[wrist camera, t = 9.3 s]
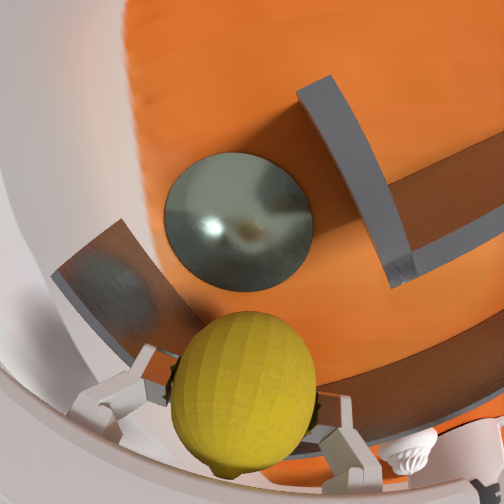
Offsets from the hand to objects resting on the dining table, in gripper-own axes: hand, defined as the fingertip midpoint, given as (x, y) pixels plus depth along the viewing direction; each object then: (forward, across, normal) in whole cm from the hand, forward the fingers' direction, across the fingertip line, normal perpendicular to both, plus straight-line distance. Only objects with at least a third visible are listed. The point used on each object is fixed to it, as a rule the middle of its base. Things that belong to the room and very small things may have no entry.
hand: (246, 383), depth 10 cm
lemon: (+4, 0, 0) cm, 4 cm away
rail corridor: (+7, -6, -4) cm, 10 cm away
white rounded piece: (+7, -18, +12) cm, 23 cm away
